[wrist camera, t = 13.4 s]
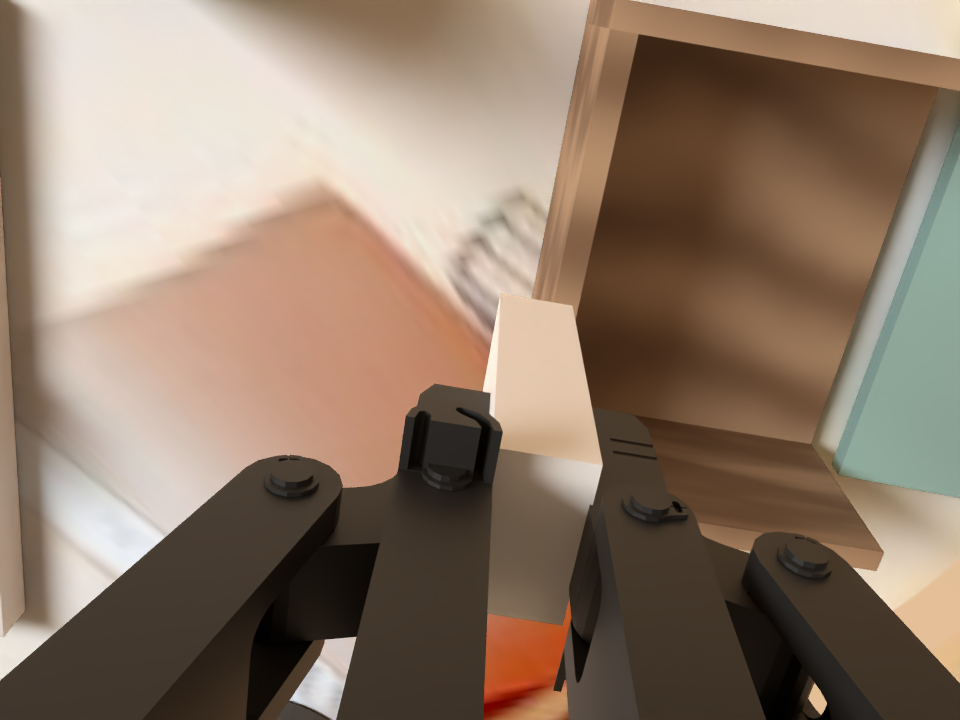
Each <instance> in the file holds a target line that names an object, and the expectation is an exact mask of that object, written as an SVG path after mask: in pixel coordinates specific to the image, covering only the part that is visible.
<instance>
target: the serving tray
mask: <svg viewBox="0 0 960 720" xmlns="http://www.w3.org/2000/svg"><path fill="white" fill-rule="evenodd" d="M24 611H25V597H24V580H23V562H22V545H21V528H20V510H19V493H18V475H17V458H16V441H15V423H14V406H13V388H12V371H11V354H10V336H9V319H8V301H7V284H6V266H5V249H4V232H3V214H2V197H1V179H0V637H4V636H5V635H6V634H7V632H8V631H9V630H10V629H11V627H12V626H13V625H14V624H15V623H16V621H17V620H18V619H19V618H20V616H21V615H22V614H23V613H24Z"/></svg>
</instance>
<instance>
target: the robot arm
mask: <svg viewBox="0 0 960 720" xmlns="http://www.w3.org/2000/svg"><path fill="white" fill-rule="evenodd" d="M342 486H343V485H342V482H341V479H340V475H339V474H338V473H337V472H336V471H334V470H333V469H332V468H331V467H330V466H329V465H326V464H324V463H322V462H319V461H317V460H315V459H311V458H305V457H301V456H296V455H290V456H287V455H282V456H274V457H270V458H266V459H262V460H258V461H257V462H255V463H253V464H251V465H249V466H248V467H246V468H245V469H244V470H242V471H241V472H240V473H239V474H238V475H237V476H235V477H234V478H233V479H232V480H231V481H230V482H229V483H227V484H226V485H225V486H224V487H223V488H222V489H221V490H219V491H218V492H217V493H216V494H215V495H214V496H212V497H211V498H210V499H209V500H208V501H207V502H206V503H204V504H203V505H202V506H201V507H200V508H199V509H197V510H196V511H195V512H194V513H193V514H192V515H191V516H189V517H188V518H187V519H186V520H185V521H184V522H182V523H181V524H180V525H179V526H178V527H177V528H176V529H174V530H173V531H172V532H171V533H170V534H169V535H168V536H166V537H165V538H164V539H163V540H162V541H161V542H159V543H158V544H157V545H156V546H155V547H154V548H153V549H151V550H150V551H149V552H148V553H147V554H146V555H144V556H143V557H142V558H141V559H140V560H139V561H138V562H136V563H135V564H134V565H133V566H132V567H131V568H130V569H128V570H127V571H126V572H125V573H124V574H123V575H121V576H120V577H119V578H118V579H117V580H116V581H115V582H113V583H112V584H111V585H110V586H109V587H108V588H106V589H105V590H104V591H103V592H102V593H101V594H100V595H98V596H97V597H96V598H95V599H94V600H93V601H91V602H90V603H89V604H88V605H87V606H86V607H85V608H83V609H82V610H81V611H80V612H79V613H78V614H77V615H75V616H74V617H73V618H72V619H71V620H70V621H68V622H67V623H66V624H65V625H64V626H63V627H62V628H60V629H59V630H58V631H57V632H56V633H55V634H53V635H52V636H51V637H50V638H49V639H48V640H47V641H45V642H44V643H43V644H42V645H41V646H40V647H39V648H37V649H36V650H35V651H34V652H33V653H32V654H30V655H29V656H28V657H27V658H26V659H25V660H24V661H22V662H21V663H20V664H19V665H18V666H17V667H15V668H14V669H13V670H12V671H11V672H10V673H9V674H7V675H6V676H5V677H4V678H3V679H2V680H0V720H327V719H325V718H324V717H322V716H320V715H318V714H317V713H315V712H313V711H311V710H308V709H306V708H304V707H301V706H299V705H296V704H293V703H290V702H289V700H290V699H291V697H292V696H293V694H294V693H295V691H296V690H297V688H298V687H299V685H300V684H301V682H302V681H303V679H304V678H305V676H306V675H307V673H308V672H309V670H310V669H311V668H312V666H313V665H314V663H315V662H316V660H317V659H318V657H319V656H320V653H321V651H322V648H323V645H324V641H325V639H336V638H347V637H357V638H356V642H355V646H354V650H353V654H352V658H351V662H350V666H349V670H348V674H347V678H346V682H345V687H344V691H343V695H342V699H341V703H340V707H339V711H338V715H337V719H336V720H483V704H484V680H485V656H486V633H487V614H493V615H500V616H506V617H513V618H519V619H525V620H532V621H538V622H544V623H551V624H557V625H563V621H564V617H565V613H566V609H567V605H568V601H569V597H570V606H571V617H572V618H571V622H570V626H569V630H568V634H567V638H566V642H565V646H564V650H563V653H562V657H561V661H560V665H559V669H558V673H557V677H556V681H555V686H554V690H553V691H560V692H561V690H562V687H563V683H564V680H566V683H567V697H568V711H569V720H960V683H959V682H958V681H957V680H956V679H955V678H954V677H953V676H952V674H951V673H950V672H949V671H948V670H947V669H946V668H945V667H944V666H943V665H942V664H941V663H940V662H939V660H938V659H937V658H936V657H935V656H934V655H933V654H932V653H931V652H930V651H929V650H928V649H927V648H926V646H925V645H924V644H923V643H922V642H921V641H920V640H919V639H918V638H917V637H916V636H915V635H914V634H913V633H912V631H911V630H910V629H909V628H908V627H907V626H906V625H905V624H904V623H903V622H902V621H901V620H900V618H899V617H898V616H897V615H896V614H895V613H894V612H893V611H892V610H891V609H890V608H889V607H888V606H887V604H886V603H885V602H884V601H883V600H882V599H881V598H880V597H879V596H878V595H877V594H876V593H875V591H874V590H873V589H872V588H871V587H870V586H869V585H868V584H867V583H866V582H865V581H864V580H863V579H862V577H861V576H860V575H859V574H858V573H857V572H856V571H855V570H854V569H853V568H852V567H851V566H850V565H849V563H848V562H847V561H845V560H844V559H843V558H842V557H841V556H839V555H838V554H837V553H836V552H835V551H833V550H832V549H830V548H828V547H826V546H824V545H823V544H821V543H819V542H818V541H817V540H815V539H812V538H810V537H807V538H806V537H805V536H804V535H800V534H796V533H785V532H770V533H764V534H762V535H761V536H759V537H758V538H756V539H755V541H754V544H753V547H752V549H751V552H750V554H749V553H746V552H743V551H740V550H738V549H735V548H732V547H729V546H726V545H723V544H721V543H718V542H716V541H713V540H711V539H709V538H706V537H705V536H703V535H702V534H701V531H700V528H699V526H698V523H697V520H696V517H695V515H694V514H693V512H692V511H691V509H690V508H689V506H688V505H687V504H685V503H684V502H683V501H681V500H680V499H679V498H678V497H676V496H674V495H672V494H670V493H668V490H667V487H666V484H665V481H664V478H663V474H662V471H661V468H660V465H659V462H658V461H657V455H656V452H655V449H654V448H653V443H652V439H651V436H650V433H649V430H648V429H647V428H646V427H645V426H644V425H643V424H642V423H641V422H640V421H639V420H638V419H637V418H636V417H635V416H634V415H633V414H628V413H622V412H616V411H610V410H604V409H598V408H592V406H591V400H590V395H589V390H588V385H587V379H586V374H585V369H584V363H583V358H582V353H581V348H580V342H579V337H578V332H577V327H576V321H575V316H574V311H573V306H572V305H566V304H560V303H554V302H548V301H542V300H536V299H530V298H524V297H518V296H512V295H506V294H500V300H499V305H498V311H497V316H496V322H495V327H494V333H493V338H492V344H491V349H490V355H489V360H488V366H487V371H486V377H485V382H484V388H483V392H482V391H475V390H469V389H463V388H457V387H451V386H445V385H439V384H434V385H433V386H431V387H430V388H428V389H427V390H426V391H424V392H423V393H421V394H420V397H419V401H418V405H417V406H416V407H414V408H412V409H411V410H410V411H409V413H408V414H407V415H406V419H405V426H404V433H403V440H402V447H401V454H400V461H399V468H398V472H397V474H396V475H395V476H394V477H393V478H391V479H389V480H387V481H385V482H383V483H380V484H376V485H372V486H366V487H356V488H342ZM814 682H815V684H816V685H817V687H818V688H819V689H820V690H821V692H822V694H823V696H824V697H825V700H826V702H827V706H826V708H825V710H824V712H823V714H822V715H820V714H819V713H818V711H816V709H815V708H814V707H813V705H812V704H811V702H810V701H809V699H808V697H809V695H810V692H811V690H812V687H813V685H814Z"/></svg>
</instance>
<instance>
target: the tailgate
mask: <svg viewBox="0 0 960 720" xmlns="http://www.w3.org/2000/svg"><path fill="white" fill-rule="evenodd" d="M832 465H833V467H834V469H835V470H836V472H837V474H838V475H841V476H846V477H851V478H856V479H862V480H867V481H872V482H878V483H883V484H888V485H894V486H899V487H904V488H910V489H915V490H920V491H926V492H931V493H936V494H941V495H947V496H952V497H957V498H960V122H959V124H958V127H957V130H956V132H955V135H954V138H953V140H952V143H951V146H950V148H949V151H948V154H947V156H946V159H945V162H944V165H943V167H942V170H941V173H940V175H939V178H938V181H937V183H936V186H935V189H934V191H933V194H932V197H931V199H930V202H929V205H928V207H927V210H926V213H925V216H924V218H923V221H922V224H921V226H920V229H919V232H918V234H917V237H916V240H915V242H914V245H913V248H912V250H911V253H910V256H909V258H908V261H907V264H906V266H905V269H904V272H903V275H902V277H901V280H900V283H899V285H898V288H897V291H896V293H895V296H894V299H893V301H892V304H891V307H890V309H889V312H888V315H887V317H886V320H885V323H884V326H883V328H882V331H881V334H880V336H879V339H878V342H877V344H876V347H875V350H874V352H873V355H872V358H871V360H870V363H869V366H868V368H867V371H866V374H865V377H864V379H863V382H862V385H861V387H860V390H859V393H858V395H857V398H856V401H855V403H854V406H853V409H852V411H851V414H850V417H849V419H848V422H847V425H846V428H845V430H844V433H843V436H842V438H841V441H840V444H839V446H838V449H837V452H836V454H835V457H834V460H833V462H832Z"/></svg>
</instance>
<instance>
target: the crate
mask: <svg viewBox="0 0 960 720" xmlns="http://www.w3.org/2000/svg"><path fill="white" fill-rule="evenodd" d="M939 87H941V88H946V89H952V90H958V91H960V59H956V58H950V57H945V56H939V55H933V54H928V53H922V52H917V51H911V50H905V49H900V48H894V47H888V46H883V45H877V44H872V43H866V42H860V41H855V40H849V39H844V38H838V37H832V36H827V35H821V34H815V33H810V32H804V31H799V30H793V29H787V28H782V27H776V26H771V25H765V24H759V23H754V22H748V21H742V20H737V19H731V18H726V17H720V16H714V15H709V14H703V13H698V12H692V11H686V10H681V9H675V8H669V7H664V6H658V5H653V4H647V3H641V2H636V1H630V0H591V1H590V6H589V11H588V16H587V21H586V26H585V31H584V36H583V41H582V46H581V51H580V56H579V62H578V67H577V72H576V77H575V82H574V87H573V92H572V97H571V102H570V107H569V112H568V117H567V122H566V128H565V133H564V138H563V143H562V148H561V153H560V158H559V163H558V168H557V173H556V178H555V183H554V188H553V193H552V199H551V204H550V209H549V214H548V219H547V224H546V229H545V234H544V239H543V244H542V249H541V254H540V259H539V265H538V270H537V275H536V280H535V285H534V290H533V295H532V299H536V300H542V301H548V302H554V303H560V304H566V305H572V306H573V311H574V316H575V321H576V327H577V332H578V337H579V342H580V348H581V353H582V358H583V363H584V369H585V374H586V379H587V385H588V390H589V395H590V400H591V406H592V408H598V409H604V410H610V411H616V412H622V413H628V414H633V415H634V416H635V417H636V418H637V419H638V420H639V421H640V422H641V423H642V424H643V425H644V426H645V427H646V428H647V429H648V430H649V433H650V436H651V439H652V443H653V448H654V449H655V452H656V455H657V461H658V462H659V465H660V468H661V471H662V474H663V478H664V481H665V484H666V487H667V490H668V493H670V494H672V495H674V496H676V497H678V498H679V499H680V500H681V501H683V502H684V503H685V504H687V505H688V506H689V508H690V509H691V511H692V512H693V514H694V515H695V517H696V520H697V523H698V526H699V528H700V531H701V534H702V535H703V536H705V537H706V538H709V539H711V540H713V541H716V542H718V543H721V544H723V545H726V546H729V547H732V548H736V549H742V550H749V551H751V549H752V547H753V544H754V541H755V539H756V538H758V537H759V536H761V535H762V534H764V533H770V532H785V533H796V534H800V535H804V536H805V537H806V538H807V537H810V538H812V539H815V540H817V541H818V542H819V543H821V544H823V545H824V546H826V547H828V548H830V549H832V550H833V551H835V552H836V553H837V554H838V555H839V556H841V557H842V558H843V559H844V560H845V561H847V562H848V563H849V565H850V566H851V567H854V568H861V569H867V570H873V571H877V568H878V566H879V564H880V561H881V559H882V556H883V554H884V552H883V550H882V549H881V547H880V546H879V544H878V543H877V541H876V540H875V538H874V537H873V535H872V534H871V532H870V531H869V529H868V528H867V526H866V525H865V523H864V522H863V520H862V519H861V518H860V516H859V515H858V513H857V512H856V510H855V509H854V507H853V506H852V504H851V503H850V501H849V500H848V498H847V497H846V495H845V494H844V492H843V491H842V489H841V488H840V486H839V485H838V483H837V482H836V480H835V479H834V477H833V476H832V475H831V473H830V472H829V470H828V469H827V467H826V466H825V464H824V463H823V461H822V460H821V458H820V457H819V455H818V454H817V452H816V451H815V449H814V448H813V446H812V445H811V443H812V440H813V437H814V434H815V431H816V429H817V426H818V423H819V420H820V417H821V415H822V412H823V409H824V406H825V404H826V401H827V398H828V395H829V392H830V390H831V387H832V384H833V381H834V378H835V376H836V373H837V370H838V367H839V364H840V362H841V359H842V356H843V353H844V350H845V348H846V345H847V342H848V339H849V336H850V334H851V331H852V328H853V325H854V322H855V320H856V317H857V314H858V311H859V309H860V306H861V303H862V300H863V297H864V295H865V292H866V289H867V286H868V283H869V281H870V278H871V275H872V272H873V269H874V267H875V264H876V261H877V258H878V255H879V253H880V250H881V247H882V244H883V241H884V239H885V236H886V233H887V230H888V227H889V225H890V222H891V219H892V216H893V214H894V211H895V208H896V205H897V202H898V200H899V197H900V194H901V191H902V188H903V186H904V183H905V180H906V177H907V174H908V172H909V169H910V166H911V163H912V160H913V158H914V155H915V152H916V149H917V146H918V144H919V141H920V138H921V135H922V132H923V130H924V127H925V124H926V121H927V118H928V116H929V113H930V110H931V107H932V105H933V102H934V99H935V96H936V93H937V91H938V88H939Z"/></svg>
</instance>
